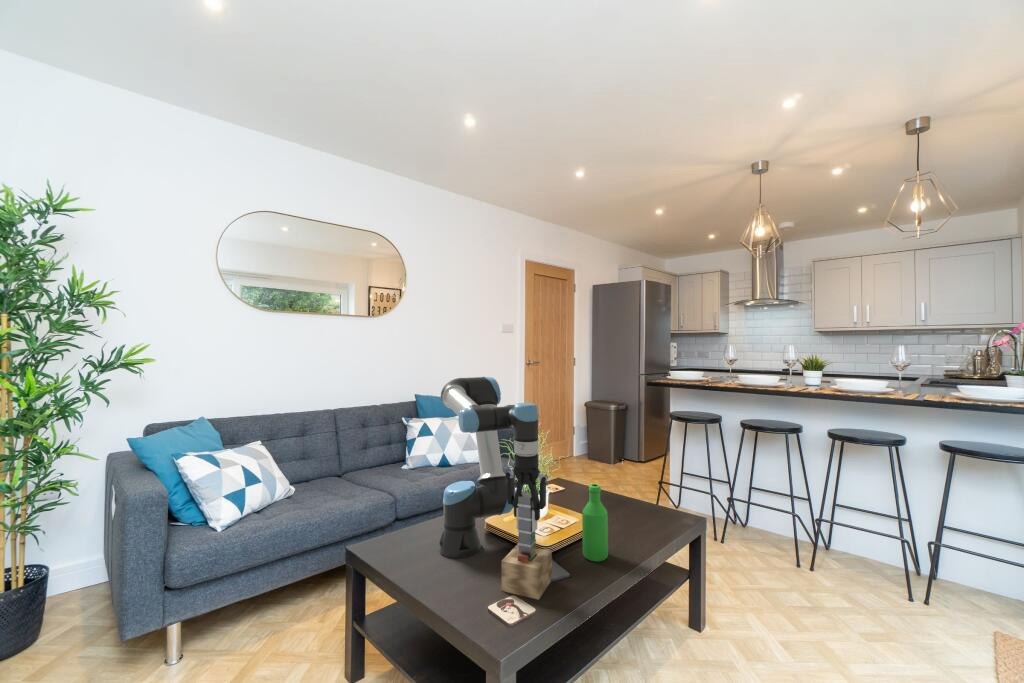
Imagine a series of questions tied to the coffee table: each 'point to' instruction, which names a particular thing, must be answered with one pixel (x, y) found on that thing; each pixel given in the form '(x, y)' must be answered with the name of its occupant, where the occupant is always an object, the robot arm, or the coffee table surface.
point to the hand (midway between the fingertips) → (526, 528)
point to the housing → (526, 573)
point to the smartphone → (558, 572)
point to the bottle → (595, 527)
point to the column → (526, 526)
